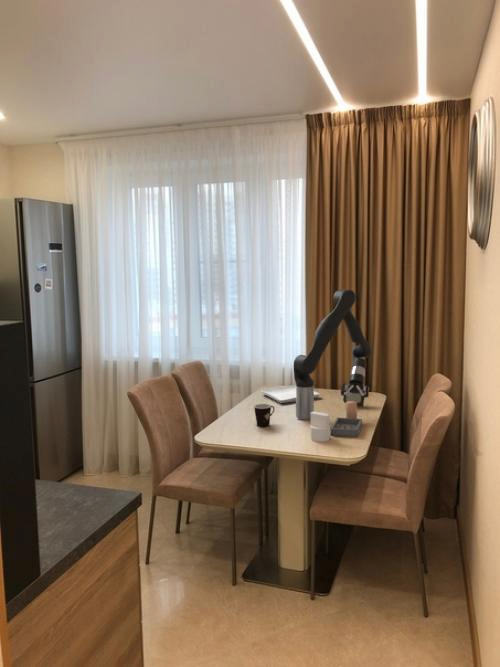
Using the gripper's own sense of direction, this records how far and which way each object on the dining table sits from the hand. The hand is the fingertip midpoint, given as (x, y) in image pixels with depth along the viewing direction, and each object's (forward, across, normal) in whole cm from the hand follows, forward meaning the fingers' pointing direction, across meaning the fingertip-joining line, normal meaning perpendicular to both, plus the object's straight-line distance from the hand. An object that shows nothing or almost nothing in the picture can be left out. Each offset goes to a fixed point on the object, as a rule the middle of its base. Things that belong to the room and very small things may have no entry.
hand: (353, 402), depth 283 cm
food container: (-12, -5, +24) cm, 27 cm away
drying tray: (+20, +1, -7) cm, 21 cm away
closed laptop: (-17, -46, +30) cm, 58 cm away
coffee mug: (+22, -40, -9) cm, 47 cm away
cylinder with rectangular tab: (+30, -8, -18) cm, 36 cm away
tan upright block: (+9, 0, +3) cm, 9 cm away
